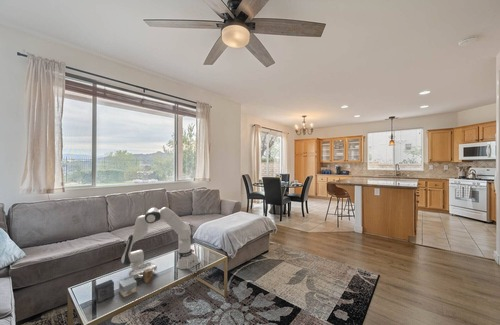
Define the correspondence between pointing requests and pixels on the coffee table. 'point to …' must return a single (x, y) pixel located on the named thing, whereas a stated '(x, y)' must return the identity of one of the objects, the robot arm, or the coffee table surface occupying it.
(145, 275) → the walnut block
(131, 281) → the tower top
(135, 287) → the tower base
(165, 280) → the coffee table surface
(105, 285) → the small box
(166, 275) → the coffee table surface
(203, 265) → the coffee table surface
